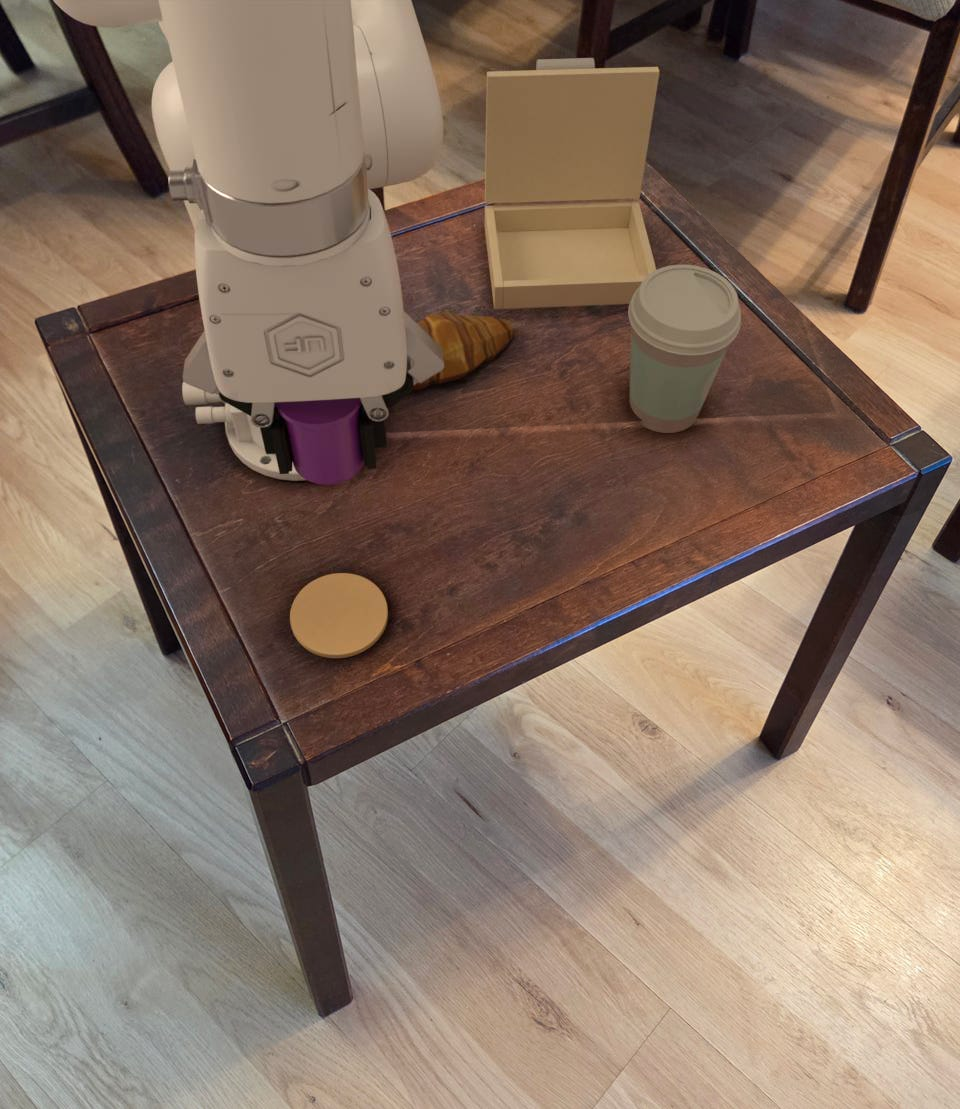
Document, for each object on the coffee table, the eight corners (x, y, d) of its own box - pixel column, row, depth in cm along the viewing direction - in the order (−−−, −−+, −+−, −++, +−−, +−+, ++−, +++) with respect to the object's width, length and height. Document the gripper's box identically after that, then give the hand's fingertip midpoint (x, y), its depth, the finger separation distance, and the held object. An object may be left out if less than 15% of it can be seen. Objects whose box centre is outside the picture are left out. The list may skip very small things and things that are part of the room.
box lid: (659, 71, 89) (648, 36, 92) (487, 76, 88) (482, 41, 92) (639, 198, 99) (630, 163, 102) (485, 203, 98) (480, 168, 102)
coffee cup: (711, 453, 86) (742, 343, 76) (606, 436, 87) (624, 326, 77) (718, 380, 91) (749, 267, 81) (619, 365, 92) (638, 252, 82)
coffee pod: (286, 491, 62) (272, 426, 58) (288, 429, 65) (275, 363, 61) (371, 486, 62) (364, 421, 58) (369, 424, 65) (362, 359, 61)
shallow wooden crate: (654, 309, 96) (659, 280, 93) (493, 315, 95) (494, 287, 92) (633, 229, 102) (638, 199, 100) (484, 234, 102) (484, 205, 99)
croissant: (490, 316, 95) (492, 272, 91) (532, 361, 92) (535, 317, 88) (357, 371, 91) (352, 327, 87) (396, 421, 87) (392, 377, 83)
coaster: (289, 661, 74) (288, 657, 74) (292, 579, 78) (291, 575, 78) (389, 655, 74) (388, 652, 74) (387, 574, 78) (386, 570, 78)
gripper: (90, 249, 46) (182, 510, 61) (474, 232, 47) (472, 493, 62) (112, 151, 51) (192, 416, 65) (462, 137, 52) (463, 402, 66)
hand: (328, 451), depth 63 cm, fingers closed on coffee pod, 4 cm apart
